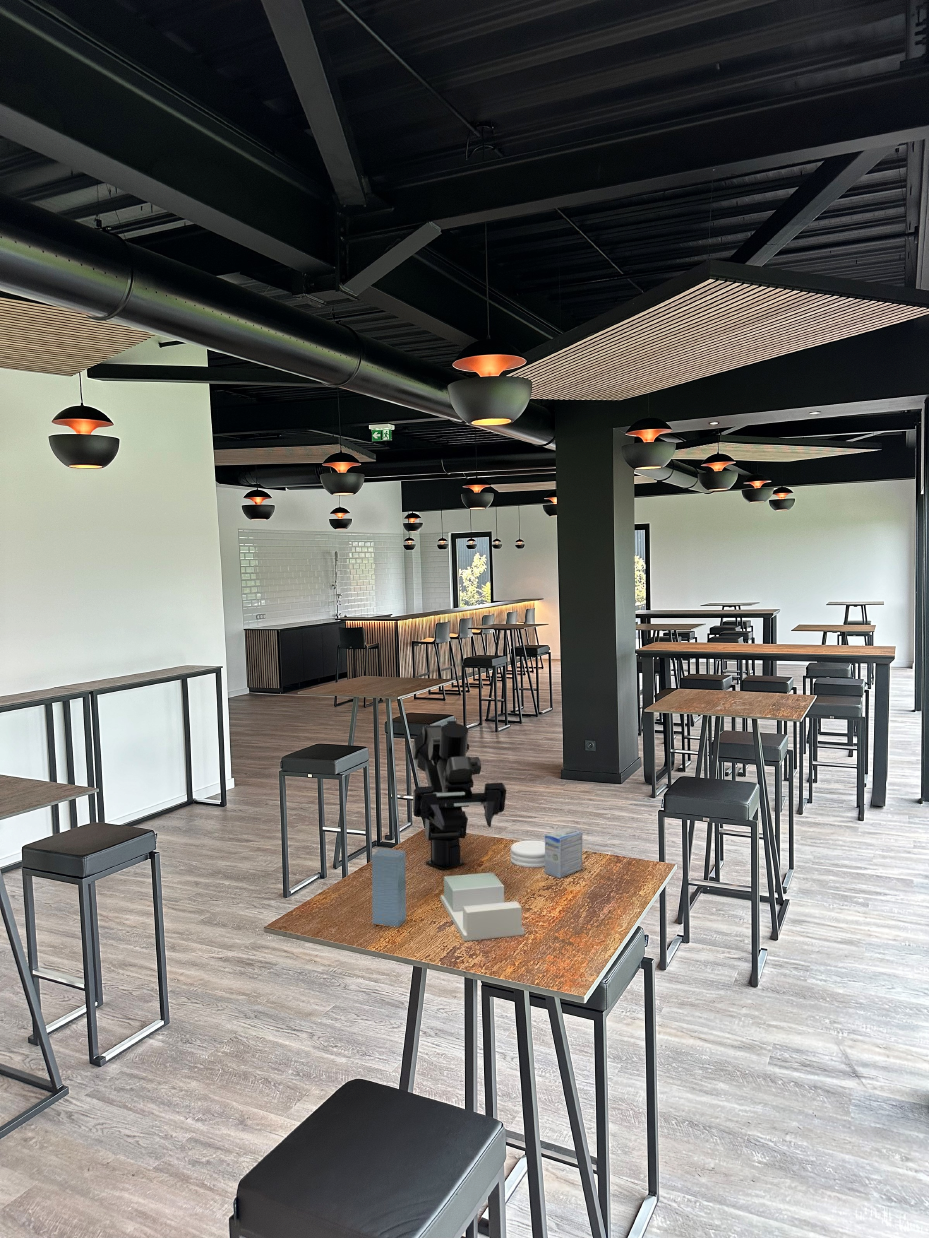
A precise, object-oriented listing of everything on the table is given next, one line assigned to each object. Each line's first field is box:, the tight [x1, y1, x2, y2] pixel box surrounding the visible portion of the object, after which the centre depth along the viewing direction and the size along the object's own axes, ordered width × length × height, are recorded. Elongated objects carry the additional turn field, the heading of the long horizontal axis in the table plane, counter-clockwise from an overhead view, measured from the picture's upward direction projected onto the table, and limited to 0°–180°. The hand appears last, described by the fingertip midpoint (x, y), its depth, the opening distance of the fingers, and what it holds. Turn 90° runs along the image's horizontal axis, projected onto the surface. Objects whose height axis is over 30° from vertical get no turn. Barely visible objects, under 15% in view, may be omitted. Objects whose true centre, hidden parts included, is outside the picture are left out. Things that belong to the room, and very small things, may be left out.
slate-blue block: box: [371, 848, 407, 928], centre depth 152 cm, size 4×5×13 cm
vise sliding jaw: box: [443, 871, 505, 912], centre depth 159 cm, size 8×10×4 cm
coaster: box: [509, 840, 545, 868], centre depth 187 cm, size 10×10×4 cm
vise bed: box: [440, 894, 525, 942], centre depth 154 cm, size 20×11×5 cm, turn 14°
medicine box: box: [544, 827, 583, 879], centre depth 179 cm, size 8×4×9 cm, turn 134°
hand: (466, 826), depth 159 cm, fingers open, 9 cm apart
